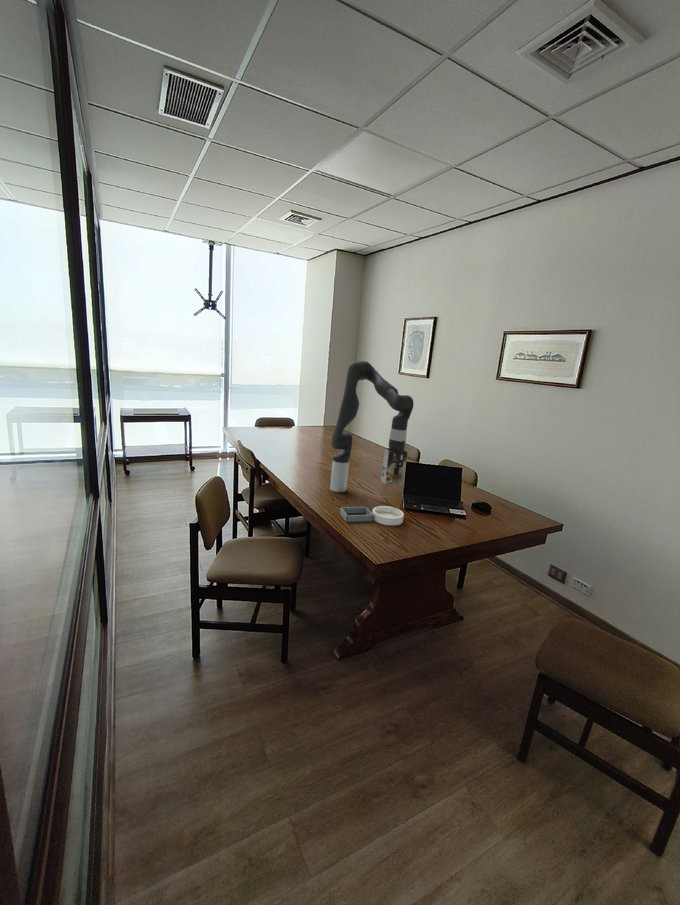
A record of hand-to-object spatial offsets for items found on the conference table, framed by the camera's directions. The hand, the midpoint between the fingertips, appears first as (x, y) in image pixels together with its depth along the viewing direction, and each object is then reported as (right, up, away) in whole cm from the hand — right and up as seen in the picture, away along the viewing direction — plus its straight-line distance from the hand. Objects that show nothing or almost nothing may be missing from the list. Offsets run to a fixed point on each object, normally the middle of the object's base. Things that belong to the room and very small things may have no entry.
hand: (393, 472), depth 189 cm
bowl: (-2, -23, +6) cm, 23 cm away
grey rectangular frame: (-17, -22, +4) cm, 28 cm away
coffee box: (-1, -5, +1) cm, 5 cm away
